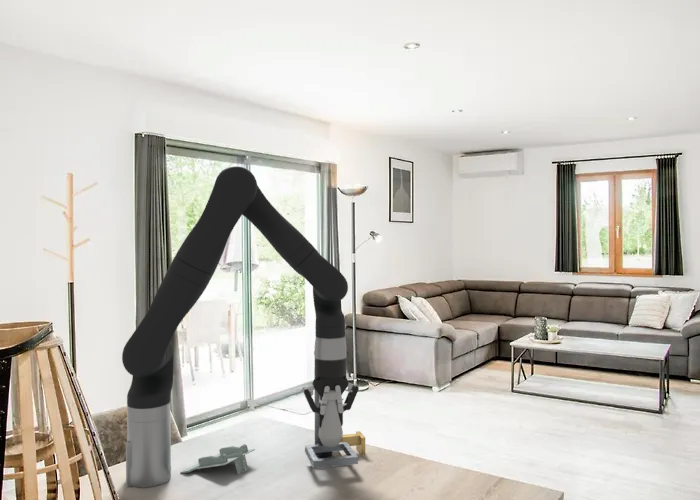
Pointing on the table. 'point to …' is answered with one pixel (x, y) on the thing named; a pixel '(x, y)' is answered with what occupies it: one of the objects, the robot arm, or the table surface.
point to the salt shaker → (331, 422)
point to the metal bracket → (224, 459)
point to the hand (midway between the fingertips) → (330, 428)
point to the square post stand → (334, 447)
